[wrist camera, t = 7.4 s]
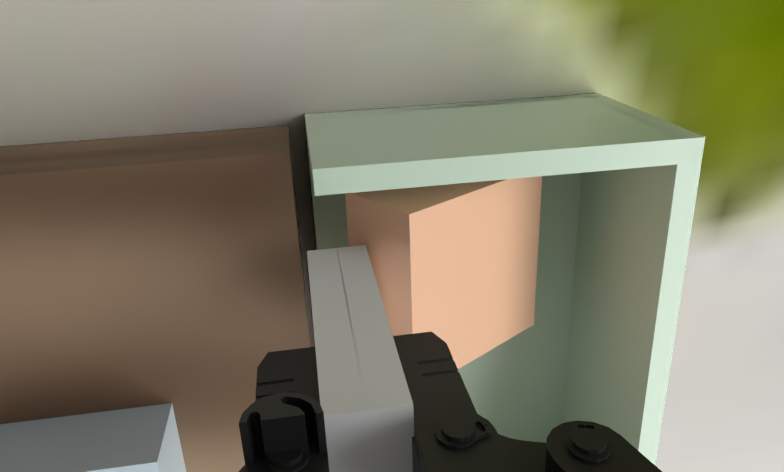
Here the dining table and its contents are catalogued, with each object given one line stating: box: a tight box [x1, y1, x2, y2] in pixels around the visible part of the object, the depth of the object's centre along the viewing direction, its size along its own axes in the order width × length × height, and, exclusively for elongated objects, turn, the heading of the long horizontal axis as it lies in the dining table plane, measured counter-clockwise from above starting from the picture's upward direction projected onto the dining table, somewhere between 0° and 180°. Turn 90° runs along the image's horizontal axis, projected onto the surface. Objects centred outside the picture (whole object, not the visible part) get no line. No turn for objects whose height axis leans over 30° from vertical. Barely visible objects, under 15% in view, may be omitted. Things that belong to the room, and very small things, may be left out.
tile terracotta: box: [345, 176, 542, 369], centre depth 18 cm, size 5×5×2 cm
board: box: [0, 126, 311, 472], centre depth 19 cm, size 13×14×3 cm
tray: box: [304, 93, 705, 465], centre depth 20 cm, size 14×9×6 cm, turn 2°
